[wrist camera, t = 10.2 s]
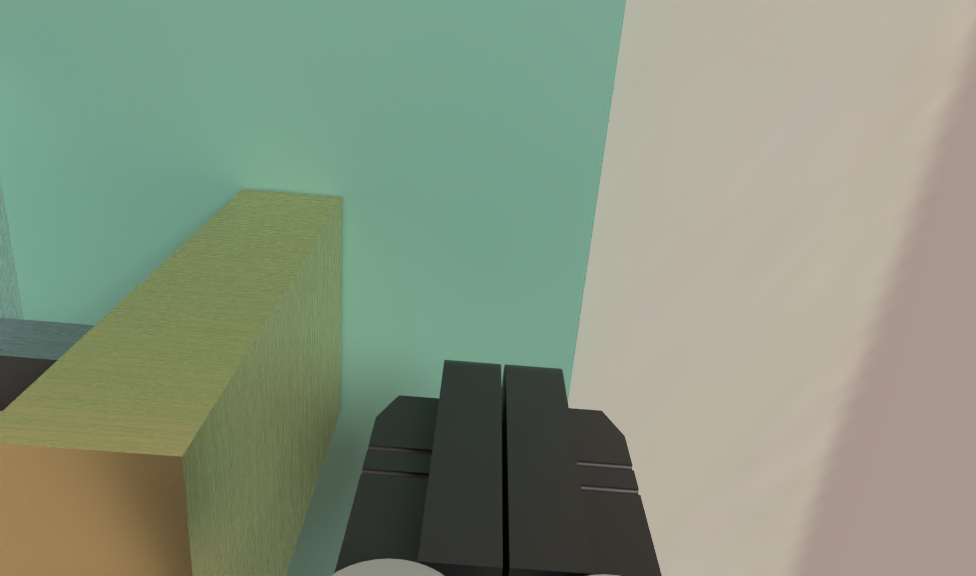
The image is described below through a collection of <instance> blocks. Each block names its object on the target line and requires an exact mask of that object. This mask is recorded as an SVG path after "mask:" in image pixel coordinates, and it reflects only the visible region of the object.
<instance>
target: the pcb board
mask: <svg viewBox="0 0 976 576" xmlns="http://www.w3.org/2000/svg"><path fill="white" fill-rule="evenodd" d="M625 4H626V0H0V178H1V184H2V190H3V196H4V202H5V208H6V213H7V219H8V225H9V231H10V237H11V243H12V249H13V254H14V260H15V266H16V272H17V278H18V284H19V290H20V295H21V301H22V307H23V313H24V319H25V320H36V321H48V322H60V323H72V324H84V325H96V324H97V323H98V322H99V321H100V320H102V319H103V318H104V317H105V316H106V315H107V314H108V313H109V312H110V311H111V310H112V309H113V308H114V307H116V306H117V305H118V304H119V303H120V302H121V301H122V300H123V299H124V298H125V297H126V296H127V295H129V294H130V293H131V292H132V291H133V290H134V289H135V288H136V287H137V286H138V285H139V284H140V283H141V282H143V281H144V280H145V279H146V278H147V277H148V276H149V275H150V274H151V273H152V272H153V271H154V270H155V269H157V268H158V267H159V266H160V265H161V264H162V263H163V262H164V261H165V260H166V259H167V258H168V257H170V256H171V255H172V254H173V253H174V252H175V251H176V250H177V249H178V248H179V247H180V246H181V245H182V244H184V243H185V242H186V241H187V240H188V239H189V238H190V237H191V236H192V235H193V234H194V233H195V232H196V231H198V230H199V229H200V228H201V227H202V226H203V225H204V224H205V223H206V222H207V221H208V220H209V219H211V218H212V217H213V216H214V215H215V214H216V213H217V212H218V211H219V210H220V209H221V208H222V207H223V206H225V205H226V204H227V203H228V202H229V201H230V200H231V199H232V198H233V197H234V196H235V195H236V194H238V193H239V192H240V191H241V190H242V189H250V190H262V191H274V192H286V193H298V194H310V195H323V196H335V197H343V266H342V364H341V412H340V415H339V418H338V421H337V424H336V427H335V430H334V433H333V436H332V439H331V442H330V445H329V448H328V451H327V454H326V457H325V460H324V463H323V466H322V469H321V472H320V475H319V478H318V481H317V484H316V487H315V490H314V493H313V496H312V499H311V502H310V505H309V508H308V511H307V514H306V517H305V520H304V523H303V526H302V529H301V532H300V535H299V538H298V541H297V544H296V547H295V551H294V554H293V557H292V560H291V563H290V566H289V569H288V572H287V575H286V576H331V575H333V574H334V571H335V569H336V565H337V561H338V558H339V554H340V550H341V546H342V543H343V539H344V535H345V531H346V528H347V524H348V520H349V516H350V513H351V509H352V505H353V501H354V498H355V494H356V490H357V486H358V482H359V479H360V475H361V474H362V467H363V464H364V460H365V456H366V452H367V450H368V445H369V441H370V437H371V434H372V430H373V426H374V422H375V419H376V417H377V416H378V415H379V414H380V413H381V412H382V411H383V410H384V409H385V408H386V407H387V406H388V405H389V404H390V403H391V402H392V401H393V400H394V399H396V398H397V397H398V396H399V395H402V396H415V397H427V398H439V396H440V389H441V381H442V374H443V366H444V360H455V361H468V362H480V363H493V364H501V388H502V379H503V371H504V366H505V364H508V365H521V366H533V367H546V368H559V369H562V371H563V376H564V382H565V389H566V395H567V401H568V395H569V388H570V382H571V375H572V368H573V361H574V354H575V347H576V340H577V334H578V327H579V320H580V313H581V306H582V299H583V292H584V285H585V279H586V272H587V265H588V258H589V251H590V244H591V237H592V230H593V224H594V217H595V210H596V203H597V196H598V189H599V182H600V175H601V169H602V162H603V155H604V148H605V141H606V134H607V127H608V121H609V114H610V107H611V100H612V93H613V86H614V79H615V72H616V66H617V59H618V52H619V45H620V38H621V31H622V24H623V17H624V11H625Z"/></svg>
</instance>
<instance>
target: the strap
mask: <svg viewBox="0 0 976 576" xmlns="http://www.w3.org/2000/svg"><path fill="white" fill-rule="evenodd" d="M94 326H95V325H84V324H72V323H60V322H48V321H36V320H24V319H12V318H0V411H3V410H4V409H5V408H7V407H8V406H9V405H10V404H11V403H12V402H13V401H14V400H15V399H16V398H17V397H18V396H19V395H21V394H22V393H23V392H24V391H25V390H26V389H27V388H28V387H29V386H30V385H31V384H32V383H34V382H35V381H36V380H37V379H38V378H39V377H40V376H41V375H42V374H43V373H44V372H45V371H46V370H48V369H49V368H50V367H51V366H52V365H53V364H54V363H55V362H56V361H57V360H58V359H59V358H61V357H62V356H63V355H64V354H65V353H66V352H67V351H68V350H69V349H70V348H71V347H72V346H73V345H75V344H76V343H77V342H78V341H79V340H80V339H81V338H82V337H83V336H84V335H85V334H86V333H87V332H89V331H90V330H91V329H92V328H93V327H94Z"/></svg>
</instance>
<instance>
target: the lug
mask: <svg viewBox="0 0 976 576" xmlns="http://www.w3.org/2000/svg"><path fill="white" fill-rule="evenodd" d="M342 266H343V197H335V196H323V195H310V194H298V193H286V192H274V191H262V190H250V189H242V190H241V191H240V192H239V193H238V194H236V195H235V196H234V197H233V198H232V199H231V200H230V201H229V202H228V203H227V204H226V205H225V206H223V207H222V208H221V209H220V210H219V211H218V212H217V213H216V214H215V215H214V216H213V217H212V218H211V219H209V220H208V221H207V222H206V223H205V224H204V225H203V226H202V227H201V228H200V229H199V230H198V231H196V232H195V233H194V234H193V235H192V236H191V237H190V238H189V239H188V240H187V241H186V242H185V243H184V244H182V245H181V246H180V247H179V248H178V249H177V250H176V251H175V252H174V253H173V254H172V255H171V256H170V257H168V258H167V259H166V260H165V261H164V262H163V263H162V264H161V265H160V266H159V267H158V268H157V269H155V270H154V271H153V272H152V273H151V274H150V275H149V276H148V277H147V278H146V279H145V280H144V281H143V282H141V283H140V284H139V285H138V286H137V287H136V288H135V289H134V290H133V291H132V292H131V293H130V294H129V295H127V296H126V297H125V298H124V299H123V300H122V301H121V302H120V303H119V304H118V305H117V306H116V307H114V308H113V309H112V310H111V311H110V312H109V313H108V314H107V315H106V316H105V317H104V318H103V319H102V320H100V321H99V322H98V323H97V324H96V325H95V326H94V327H93V328H92V329H91V330H90V331H89V332H87V333H86V334H85V335H84V336H83V337H82V338H81V339H80V340H79V341H78V342H77V343H76V344H75V345H73V346H72V347H71V348H70V349H69V350H68V351H67V352H66V353H65V354H64V355H63V356H62V357H61V358H59V359H58V360H57V361H56V362H55V363H54V364H53V365H52V366H51V367H50V368H49V369H48V370H46V371H45V372H44V373H43V374H42V375H41V376H40V377H39V378H38V379H37V380H36V381H35V382H34V383H32V384H31V385H30V386H29V387H28V388H27V389H26V390H25V391H24V392H23V393H22V394H21V395H19V396H18V397H17V398H16V399H15V400H14V401H13V402H12V403H11V404H10V405H9V406H8V407H7V408H5V409H4V410H3V411H0V576H286V575H287V572H288V569H289V566H290V563H291V560H292V557H293V554H294V551H295V547H296V544H297V541H298V538H299V535H300V532H301V529H302V526H303V523H304V520H305V517H306V514H307V511H308V508H309V505H310V502H311V499H312V496H313V493H314V490H315V487H316V484H317V481H318V478H319V475H320V472H321V469H322V466H323V463H324V460H325V457H326V454H327V451H328V448H329V445H330V442H331V439H332V436H333V433H334V430H335V427H336V424H337V421H338V418H339V415H340V412H341V364H342Z"/></svg>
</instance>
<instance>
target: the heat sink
mask: <svg viewBox="0 0 976 576" xmlns="http://www.w3.org/2000/svg"><path fill="white" fill-rule="evenodd" d="M0 318H12V319H24V313H23V307H22V301H21V295H20V290H19V284H18V278H17V272H16V266H15V260H14V254H13V249H12V243H11V237H10V231H9V225H8V219H7V213H6V208H5V202H4V196H3V190H2V184H1V178H0ZM24 320H25V319H24Z"/></svg>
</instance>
